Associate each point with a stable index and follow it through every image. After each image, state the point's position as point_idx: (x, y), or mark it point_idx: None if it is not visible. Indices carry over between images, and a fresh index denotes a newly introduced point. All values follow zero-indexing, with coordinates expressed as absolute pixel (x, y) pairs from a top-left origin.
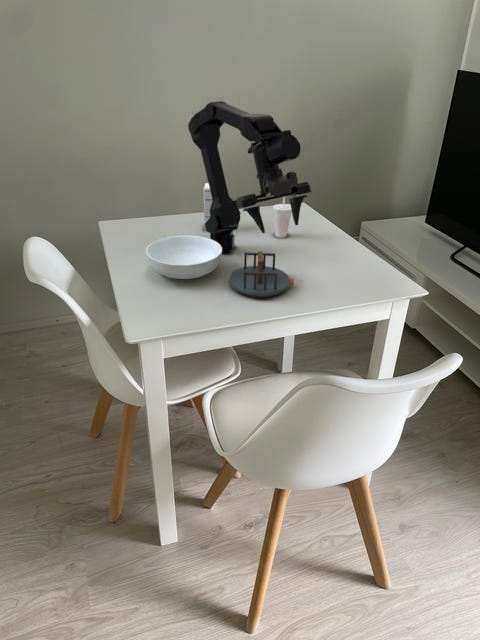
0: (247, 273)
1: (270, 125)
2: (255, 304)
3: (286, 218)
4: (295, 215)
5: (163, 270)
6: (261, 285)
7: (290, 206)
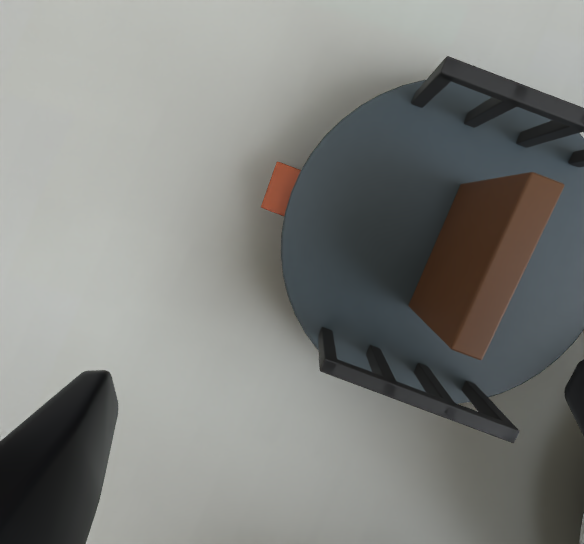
0: None
1: None
2: (531, 67)
3: None
4: (34, 503)
5: None
6: (471, 166)
7: None
